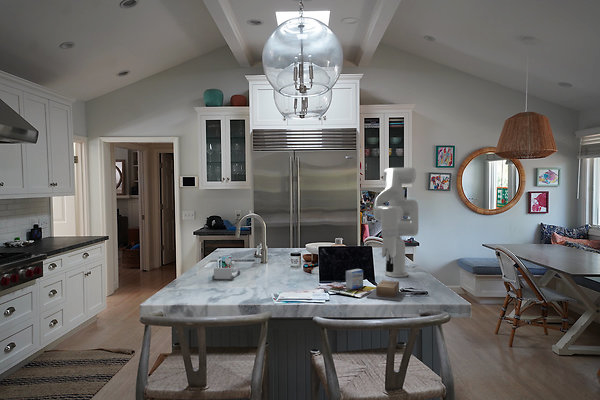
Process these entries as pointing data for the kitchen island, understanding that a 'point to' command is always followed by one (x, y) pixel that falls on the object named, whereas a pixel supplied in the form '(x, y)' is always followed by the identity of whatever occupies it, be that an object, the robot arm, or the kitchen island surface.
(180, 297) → the kitchen island surface
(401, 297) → the charcoal mat
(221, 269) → the grey desk organizer
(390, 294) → the brown wooden block
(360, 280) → the medicine box
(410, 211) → the robot arm
